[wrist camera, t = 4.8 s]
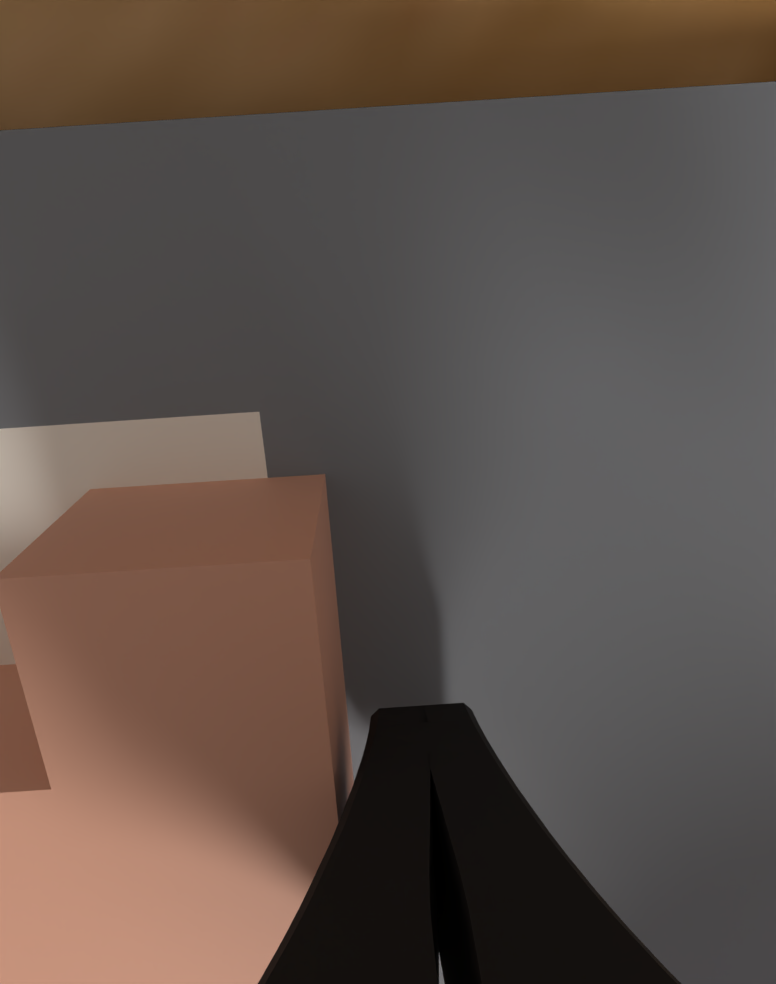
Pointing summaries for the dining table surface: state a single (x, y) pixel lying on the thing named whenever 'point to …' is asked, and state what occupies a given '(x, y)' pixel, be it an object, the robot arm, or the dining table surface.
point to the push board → (461, 430)
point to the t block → (169, 732)
